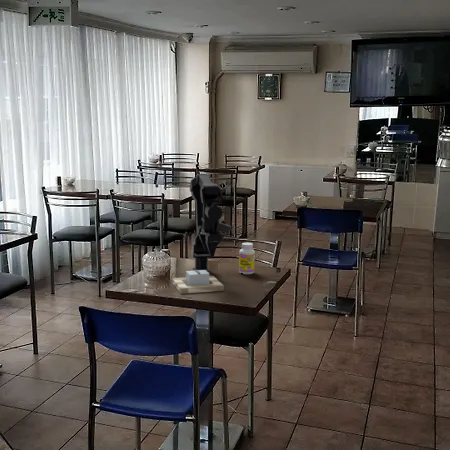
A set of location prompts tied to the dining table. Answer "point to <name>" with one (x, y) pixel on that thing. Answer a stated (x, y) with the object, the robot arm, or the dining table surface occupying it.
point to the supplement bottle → (246, 259)
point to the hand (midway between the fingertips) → (209, 254)
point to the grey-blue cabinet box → (197, 277)
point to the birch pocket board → (197, 286)
